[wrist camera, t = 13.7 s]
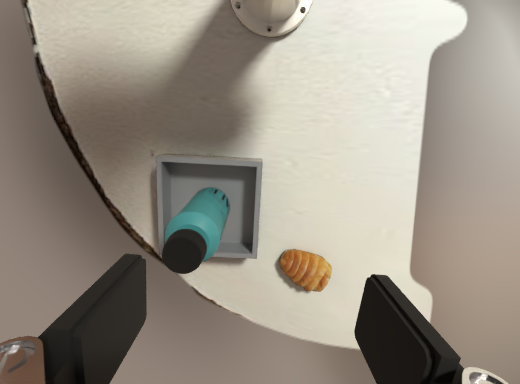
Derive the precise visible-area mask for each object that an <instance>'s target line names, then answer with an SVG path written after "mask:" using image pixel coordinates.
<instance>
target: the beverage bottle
mask: <svg viewBox="0 0 520 384" xmlns="http://www.w3.org/2000/svg"><path fill="white" fill-rule="evenodd" d="M195 194H196V193H195ZM191 198H192V199H191V200H190V201H189V202H188V204H187V205H186V206H185V207H184V208H183V209H182V210H181V211H180V212H179V213H178V214H177V215H176V216H175V217H174V218H172V219H171V221H170V222H169V223H168V225H167V227H166V230H165V245H164V247H163V250H162V258H163V261H164V263H165V265H166V266H167V267H168V268H169V269H170V270H172V271H173V272H176V273H180V274H186V273H190V272H192V271H194V270H195V269H197V268H198V267H199V265H200V264H201V262H203V261H206V260H207V259H209V258H210V257H212V256H213V255H214V253H215V252H216V251H217V249H218V247H219V243H220V240H221V238H222V237H221V236H222V235H223V234H222V232H223V229H224V230H225V228H224V227H225V226H226V224H225V222H226V221H227V220H228V219H227V216H228V214H229V212H230V211H229V209H230V208H231V207H230V204H229V201H230V200H228V197H227V196H226V194H225V193H224V192H222V191H221V190H219V189H217V188H216V187H215V188H213V187H208V188H204V189H203V188H202V190H200V191H199V192H197V194H196V195H195V196H194V197H191ZM226 219H227V220H226ZM223 233H224V232H223Z"/></svg>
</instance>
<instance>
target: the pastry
mask: <svg viewBox="0 0 520 384" xmlns="http://www.w3.org/2000/svg"><path fill="white" fill-rule="evenodd" d="M280 266H281V269H282V270H283V271H284V272H285V274H286V275H287V276H288V277H289V278H290V279H291V280H292V281H294V283H295V284H297V285H299V286H301V287H303V288H304V289H305V290H307V291H311V290H312V291H318V292H320V291H322V290H323V289H324V288H325V286H326V285H327V284H328V281H329V279H330V276H331V265H330V264H329V263H328V262H327V261H326V260H325V259H324V258H323V257H321V256H319V255H316V254H313V253H309V252H305V251H301V250H296V249H293V250H287V251H285V252H284V253H283V254H282V256H281V260H280Z"/></svg>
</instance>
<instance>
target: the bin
mask: <svg viewBox="0 0 520 384" xmlns="http://www.w3.org/2000/svg"><path fill="white" fill-rule="evenodd" d="M156 178H157V207H158V237H159V254H161V255H162V250H163V247H164V245H165V230H166V227H167V225H168V223H169V222H170V221H171V219H172V218H174V217H175V216H176V215H177V214H178V213H179V212H180V211H181V210H182V209H183V208H184V207H185V206H186V205H187V204H188V202H189V201H190V200H191V199H192V198H191V197H194V196H195V195H196V194H197V192H199V191H200V190H202V188H203V189H204V188H208V187H213V188H215V187H216V188H217V189H219V190H221V191H222V192H224V193H225V194H226V196H227V197H228V200H230V201H229V204H230V207H231V208H230V209H229V211H230V212H229V214H228V216H227V219H228V220H227V219H226V220H227V221H226V222H225V224H226V226H225V227H224V228H225V230H224V229H223V232H224V233H223V232H222V234H223V235H222V236H221V237H222V238H221V240H220V243H219V247H218V249H217V251H216V252H215V253H214V255H213V256H212V257H230V258H252V259H257V248H258V231H259V213H260V196H261V179H262V159H255V158H237V157H219V156H200V155H182V154H163V155H158V156H156ZM195 193H196V194H195Z"/></svg>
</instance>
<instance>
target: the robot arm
mask: <svg viewBox="0 0 520 384" xmlns="http://www.w3.org/2000/svg"><path fill="white" fill-rule="evenodd" d="M230 1H231V4H232V7H233V10H234V12H235V14H236V16H237V17H238V19H239V20H240V21H241V23H242V24H243V25H244V26H245V27H247V28H248V29H249V30H251V31H252V32H254V33H256V34H259V35H262V36H267V37H276V36H281V35H284V34H287V33H289V32H290V31H292V30H294V29H295V28H296V27H297V26H299V25H300V23H301V22H302V21H303V20H304V19H305V17H306V15H307V13H308V12H309V10H310V7H311V5H312V2H313V0H230ZM237 7H240V8H239V9H237ZM301 11H303V13H301ZM268 29H270V30H271V32H268ZM145 319H146V260H145V259H142V257H141V255H135V254H125V255H123V256H122V257H121V258H120V259H119V260H118V261H117V262H116V263H115V264H114V265H113V266H112V267H111V268H110V269H109V270H108V271H107V272H106V273H105V274H104V275H102V276H101V277H100V279H98V280H97V281H96V282H95V283H94V284H93V285H92V286H91V287H90V288H89V289H88V290H87V291H86V292H85V293H84V294H83V295H81V296H80V297H79V298H78V299H77V300H76V301H75V302H74V303H73V304H72V305H71V306H70V307H69V308H68V309H67V310H66V311H65V312H64V313H63V314H62V315H61V316H60V317H58V318H57V319H56V320H55V321H54V322H53V323H52V324H51V325H50V326H49V327H48V328H47V329H46V330H45V331H44V332H43V333H42V334H41V335H40V336H39V337H38V338H37V337H32V336H24V337H17V338H14V339H10V340H7V341H4V342H2V343H0V384H109V383H110V381H111V380H112V378H113V376H114V375H115V373H116V371H117V369H118V368H119V366H120V364H121V362H122V361H123V359H124V357H125V356H126V354H127V352H128V350H129V349H130V347H131V345H132V343H133V342H134V340H135V338H136V337H137V335H138V333H139V331H140V330H141V328H142V326H143V324H144V322H145ZM355 338H356V341H357V343H358V345H359V347H360V349H361V351H362V353H363V355H364V358H365V360H366V362H367V364H368V366H369V368H370V370H371V372H372V374H373V377H374V379H375V381H376V383H377V384H508V383H507V382H505V381H504V380H503V379H501V378H500V377H498V376H496V375H494V374H493V373H491V372H488V371H486V370H483V369H479V368H476V367H468V368H466V369H464V368H463V367H462V366H461V365H460V364H459V362H460V359H461V358H460V357H459V356H458V354H457V353H456V352H455V351H454V350H453V349H452V348H451V347H450V346H449V344H448V343H447V342H446V341H445V340H444V339H443V338H442V337H441V335H440V334H439V333H438V332H437V331H436V330H435V329H434V328H433V326H432V325H431V324H430V323H429V322H428V321H427V320H426V319H425V317H424V316H423V315H422V314H421V313H420V312H419V311H418V310H417V308H416V307H415V306H414V305H413V304H412V303H411V302H410V301H409V299H408V298H407V297H406V296H405V295H404V294H403V293H402V292H401V290H400V289H399V288H398V287H397V286H396V285H395V284H394V283H393V281H392V280H391V279H390V278H389V277H388V276H386V275H375V274H373V275H371V277H370V278H369V277H368V278H367V280H366V283H365V287H364V292H363V296H362V300H361V305H360V309H359V313H358V318H357V322H356V326H355Z"/></svg>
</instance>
